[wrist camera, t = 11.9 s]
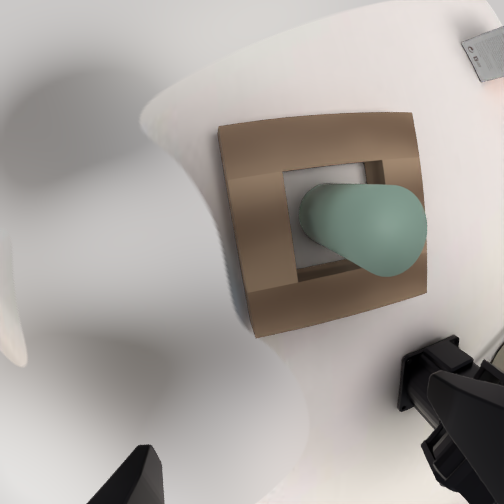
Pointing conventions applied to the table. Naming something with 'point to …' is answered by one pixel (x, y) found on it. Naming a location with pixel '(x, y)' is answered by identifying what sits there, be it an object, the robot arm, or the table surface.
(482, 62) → the skincare box
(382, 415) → the table surface
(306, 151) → the walnut holder
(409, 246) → the green peg
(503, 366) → the travel mug
